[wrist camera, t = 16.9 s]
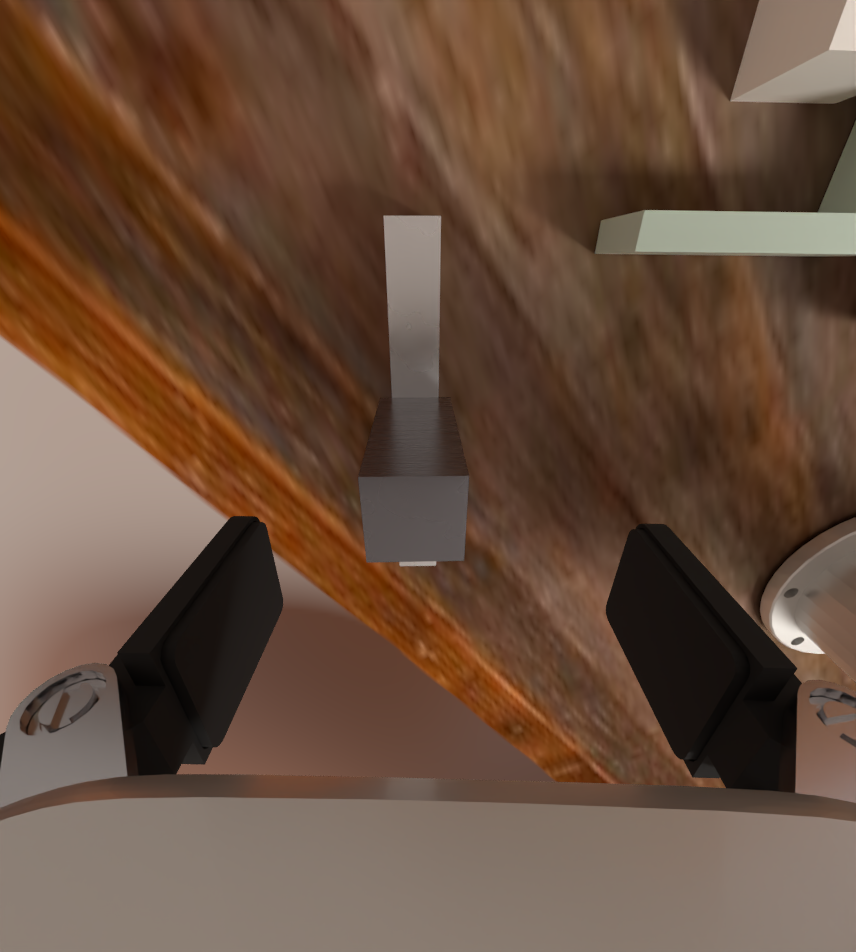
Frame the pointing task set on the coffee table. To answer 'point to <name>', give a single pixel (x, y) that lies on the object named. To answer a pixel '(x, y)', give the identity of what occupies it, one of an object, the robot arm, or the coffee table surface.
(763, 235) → the block corral
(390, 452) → the slider lever
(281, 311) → the coffee table surface
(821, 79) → the cream block
